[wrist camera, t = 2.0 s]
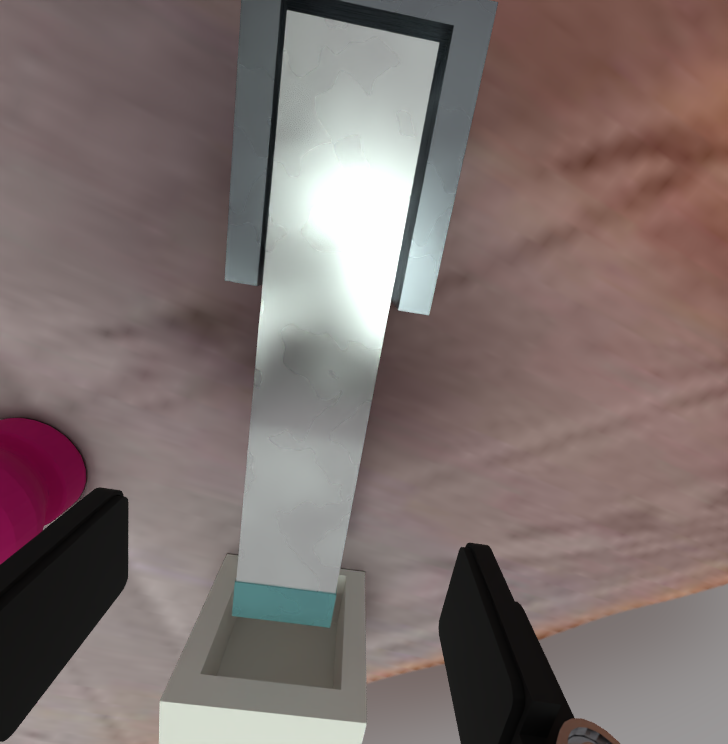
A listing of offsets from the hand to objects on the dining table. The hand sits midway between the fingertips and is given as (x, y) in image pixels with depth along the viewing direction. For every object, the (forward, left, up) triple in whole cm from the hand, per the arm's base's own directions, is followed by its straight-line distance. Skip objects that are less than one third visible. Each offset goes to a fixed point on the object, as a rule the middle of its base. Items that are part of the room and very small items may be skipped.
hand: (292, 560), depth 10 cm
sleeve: (-11, 0, -11) cm, 16 cm away
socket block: (+13, 0, -11) cm, 17 cm away
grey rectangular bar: (-3, 0, -10) cm, 10 cm away
